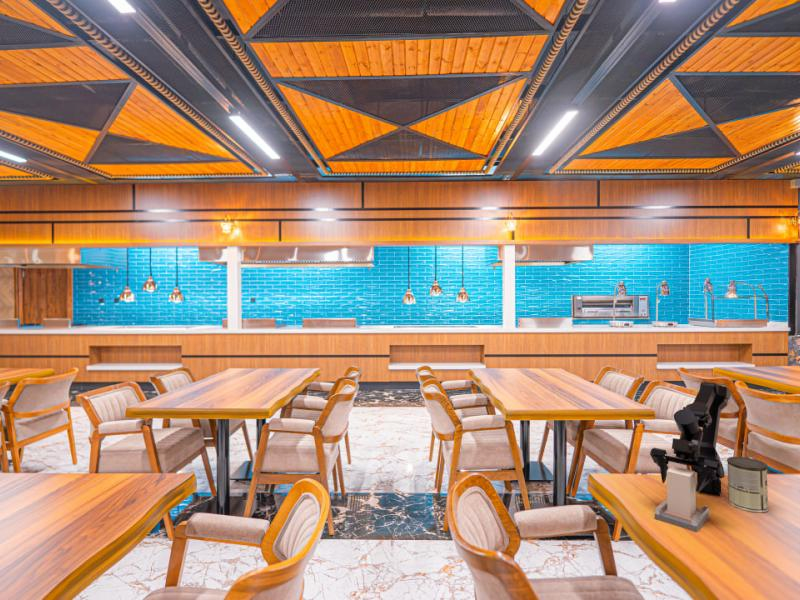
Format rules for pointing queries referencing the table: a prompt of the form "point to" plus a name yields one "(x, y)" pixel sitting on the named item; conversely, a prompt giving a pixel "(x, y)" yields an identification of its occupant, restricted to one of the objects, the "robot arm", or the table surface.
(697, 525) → the display base
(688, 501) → the cream block
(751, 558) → the table surface
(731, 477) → the coffee can
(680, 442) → the robot arm
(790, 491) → the table surface
